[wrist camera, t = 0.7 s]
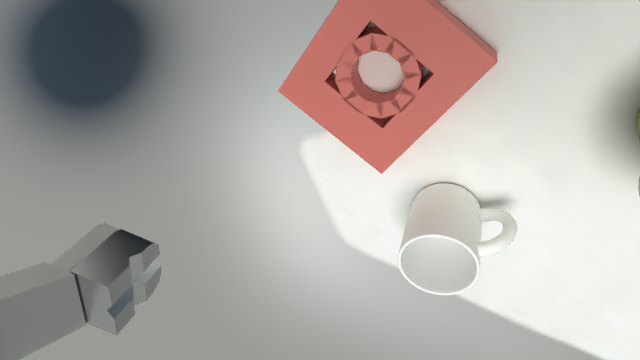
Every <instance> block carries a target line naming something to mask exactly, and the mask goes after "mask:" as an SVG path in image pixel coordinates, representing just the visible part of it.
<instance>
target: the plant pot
mask: <svg viewBox="0 0 640 360" xmlns="http://www.w3.org/2000/svg"><path fill="white" fill-rule="evenodd" d="M637 128H638V133H639V138H640V110H639V113H638V116H637ZM639 195H640V177H639Z"/></svg>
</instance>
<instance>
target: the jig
mask: <svg viewBox="0 0 640 360" xmlns="http://www.w3.org/2000/svg"><path fill="white" fill-rule="evenodd" d="M371 21H372V22H373V23H374V24H375V25H376V27H374V28H371V29H369V30H366V31H364V30H365V29H366V27H367V26H368V25H369V23H370V22H371ZM363 31H364V32H363ZM373 50H374V51H380V52H386V53H389V54H390V55H391V56H392V57H394V58H395V59H396V60H397V61H398V62H399V63H400V65H401V68H402V71H403V74H404V81H403V84H402V85H401V86H400V87H399V88H398V89H397V90H394V91H391V92H388V93H381V92H376V91H372V90H371V89H370V88H368V87H367V86H366V85H365V84H364V83H362V80H361V78H360V75H359V73H358V71H357V70H358V62H359V57H360V56H361V55H363V54H365V53H368V52H371V51H373ZM496 63H497V52H496V51H495V50H494V49H492V48H491V47H490V46H489V45H488V44H487V43H485V42H484V41H483V40H482V39H481V38H480V37H478V36H477V35H476V34H475V33H474V32H473V31H471V30H470V29H469V28H468V27H467V26H466V25H465V24H463V23H462V22H461V21H460V20H459V19H458V18H456V17H455V16H454V15H453V14H452V13H451V12H449V11H448V10H447V9H446V8H445V7H444V6H442V5H441V4H440V3H439V2H438V1H437V0H339V1H338V2H337V4H336V5H335V7H334V9H333V10H332V11H331V13H330V15H329V16H328V17H327V19H326V20H325V22H324V23H323V25H322V26H321V28H320V29H319V31H318V32H317V34H316V35H315V37H314V38H313V40H312V41H311V43H310V44H309V46H308V47H307V49H306V50H305V52H304V53H303V55H302V56H301V58H300V59H299V61H298V62H297V64H296V65H295V67H294V68H293V70H292V71H291V73H290V74H289V75H288V77H287V78H286V80H285V81H284V83H283V85H282V86H281V87H280V89H279V90H278V91H279V92H280V93H281V94H283V95H284V96H285V97H286V98H288V99H289V100H290V101H291V102H293V103H294V104H295V105H296V106H298V107H299V108H300V109H302V110H303V111H304V112H305V113H306V114H308V115H309V116H310V117H311V118H313V119H314V120H315V121H316V122H318V123H319V124H320V125H321V126H323V127H324V128H325V129H326V130H328V131H329V132H330V133H331V134H333V135H334V136H335V137H336V138H338V139H339V140H340V141H341V142H343V143H344V144H345V145H346V146H348V147H349V148H350V149H351V150H353V151H354V152H355V153H356V154H358V155H359V156H360V157H361V158H363V159H364V160H365V161H366V162H368V163H369V164H370V165H371V166H373V167H374V168H375V169H376V170H378V171H379V172H380V173H381V174H382V173H383V172H384V171H385V170H386V169H387V168H388V167H389V166H390V165H391V164H392V163H393V162H394V161H395V160H396V159H397V158H398V157H399V156H400V155H402V154H403V153H404V152H405V151H406V150H407V149H408V148H409V147H410V146H411V145H412V144H413V143H414V142H415V141H416V140H417V139H418V138H419V137H420V136H421V135H422V134H423V133H424V132H425V131H426V130H427V129H428V128H429V127H431V126H432V125H433V124H434V123H435V122H436V121H437V120H438V119H439V118H440V117H441V116H442V115H443V114H444V113H445V112H446V111H447V110H448V109H449V108H450V107H451V106H452V105H453V104H454V103H455V102H456V101H457V100H458V99H460V98H461V97H462V96H463V95H464V94H465V93H466V92H467V91H468V90H469V89H470V88H471V87H472V86H473V85H474V84H475V83H476V82H477V81H478V80H479V79H480V78H481V77H482V76H483V75H484V74H485V73H486V72H487V71H489V70H490V69H491V68H492V67H493V66H494V65H495V64H496ZM336 67H337V68H336ZM425 67H426V68H428V69H429V70H430V73H429V74H428V75H427V76H426V77H425V78H424V79H423V80H422V77H423V73H424V68H425ZM335 69H336V75H335V74H334V73H333V71H334V70H335ZM388 116H389V117H388Z"/></svg>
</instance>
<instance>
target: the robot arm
mask: <svg viewBox="0 0 640 360" xmlns="http://www.w3.org/2000/svg"><path fill="white" fill-rule="evenodd" d="M159 254H160V251H159V245H158V244H156V243H154V242H151V241H149V240H146V239H144V238H142V237H139V236H136V235H134V234H132V233H130V232H127V231H125V230H122V229H120V228H118V227H115V226H113V225H110V224H107V223H105V222H104V223H101V224H99V225H97V226H95V227H94V228H93V229H92V230H91V231H89V232H88V233H87V234H86V235H85V236H84V237H82V238H81V239H80V240H79V241H77V242H76V243H75V244H74V245H73V246H71V247H70V248H69V249H68V250H67V251H66V252H64V253H63V254H62V255H61V256H60V257H58V258H57V259H56V260H55V261H53V262H52V263H51V264H49V263H46V262H44V263H41V264H38V265H34V266H31V267H28V268H25V269H22V270H19V271H15V272H12V273H9V274H6V275H2V276H0V360H19V359H21V358H23V357H25V356H27V355H29V354H31V353H33V352H35V351H37V350H39V349H41V348H43V347H44V346H46V345H48V344H50V343H52V342H54V341H56V340H58V339H60V338H62V337H64V336H66V335H68V334H70V333H72V332H74V331H76V330H78V329H80V328H82V327H84V326H86V323H88V324H90V325H93V326H95V327H98V328H100V329H103V330H105V331H108V332H110V333H113V334H115V335H117V334H118V333H119V332H120V331H121V330H122V329H123V327H124V326H125V325H126V324H127V323H128V322H129V321H130V319H131V318H132V317H133V316H134V315H135V305H136V304H139V303H142V302H144V301H147V299H148V298H149V297H150V296H151V294H152V293H153V292H154V290H155V288H156V286H157V284H158V282H159V279H160V275H161V266H160V264H159V263H158V262H157V260H156V258H157V257H158V255H159Z"/></svg>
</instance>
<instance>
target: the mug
mask: <svg viewBox="0 0 640 360" xmlns="http://www.w3.org/2000/svg"><path fill="white" fill-rule="evenodd" d="M484 221H499V222H501V223H502V224H503V230H502V232H501V233H500V234H499V235H498V236H497V237H495V238H493V239H491V240H488V241H483V242H481V222H484ZM516 232H517V225H516V221H515V219H514V218H513V217H512V215H511V214H509V213H508V212H506V211H504V210H501V209H494V208H488V209H481V208H480V205H479V203H478V201H477V199H476V198H475V197H474V196H473V195H472V194H471V193H470V192H469V191H468V190H466V189H464V188H462V187H460V186H457V185H454V184H448V183H440V184H434V185H431V186H428V187H426V188H424V189H423V190H421V191H420V192H419V193H418V194H417V196H416V197H415V199H414V200H413V203H412V205H411V208H410V212H409V216H408V220H407V224H406V228H405V231H404V235H403V239H402V243H401V247H400V251H399V255H398V265H399V268H400V271H401V273H402V274H403V276H404V277H405V278H406V279H407V280H408V281H409V282H410V283H411V284H412V285H414V286H415V287H417V288H419V289H421V290H423V291H425V292H428V293H432V294H437V295H453V294H458V293H461V292H463V291H465V290H467V289H469V288H470V287H471V286H473V285H474V283H475V282H476V281H477V279H478V277H479V274H480V258H481V257H486V256H490V255H493V254H496V253H498V252H500V251H502V250H503V249H505V248H506V247H507V246H509V245H510V244H511V242H512V241H513V239H514V237H515V235H516Z"/></svg>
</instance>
